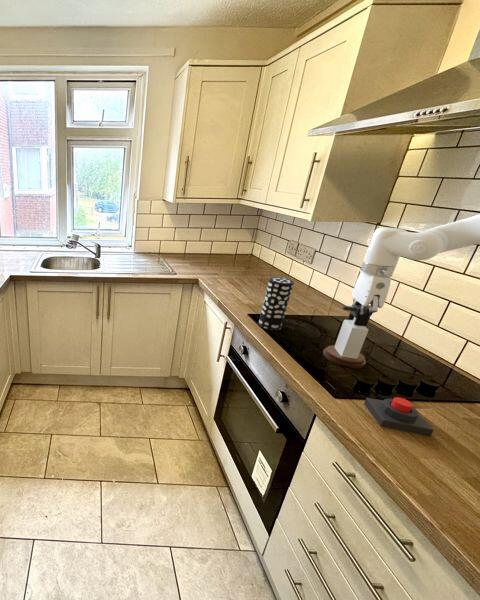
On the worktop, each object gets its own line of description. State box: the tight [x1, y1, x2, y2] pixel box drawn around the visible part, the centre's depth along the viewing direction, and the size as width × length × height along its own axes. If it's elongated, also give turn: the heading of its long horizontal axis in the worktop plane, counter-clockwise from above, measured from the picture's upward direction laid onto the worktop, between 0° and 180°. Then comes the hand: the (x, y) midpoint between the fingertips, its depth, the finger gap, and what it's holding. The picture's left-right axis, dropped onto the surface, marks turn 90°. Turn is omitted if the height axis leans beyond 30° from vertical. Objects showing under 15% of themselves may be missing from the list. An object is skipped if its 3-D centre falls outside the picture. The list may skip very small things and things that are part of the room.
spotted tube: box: [257, 276, 295, 331], centre depth 128 cm, size 8×8×20 cm
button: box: [391, 396, 414, 413], centre depth 81 cm, size 4×4×2 cm
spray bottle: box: [325, 305, 369, 363], centre depth 105 cm, size 10×10×18 cm
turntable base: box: [322, 347, 367, 369], centre depth 109 cm, size 12×12×1 cm
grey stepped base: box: [363, 397, 435, 437], centre depth 82 cm, size 10×9×4 cm
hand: (357, 322), depth 103 cm, fingers closed on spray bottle, 3 cm apart
